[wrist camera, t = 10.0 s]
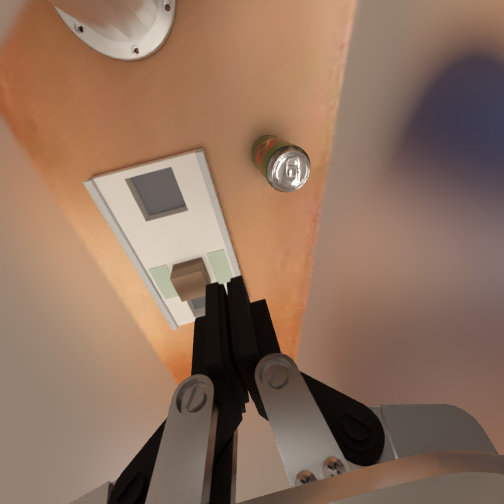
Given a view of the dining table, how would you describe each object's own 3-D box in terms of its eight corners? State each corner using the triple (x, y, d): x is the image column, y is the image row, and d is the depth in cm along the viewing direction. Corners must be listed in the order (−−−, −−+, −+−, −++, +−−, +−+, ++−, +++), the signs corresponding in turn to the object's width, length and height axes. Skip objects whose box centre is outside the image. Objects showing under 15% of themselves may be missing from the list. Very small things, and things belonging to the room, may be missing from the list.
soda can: (250, 171, 37) (267, 196, 27) (251, 134, 34) (269, 146, 24) (282, 170, 37) (310, 194, 27) (285, 134, 35) (317, 146, 25)
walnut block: (173, 264, 40) (169, 279, 37) (201, 256, 40) (201, 270, 37) (184, 286, 43) (181, 302, 40) (210, 279, 43) (211, 294, 40)
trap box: (93, 176, 34) (83, 182, 31) (203, 147, 34) (202, 151, 31) (174, 317, 50) (172, 330, 47) (248, 297, 50) (251, 309, 47)
